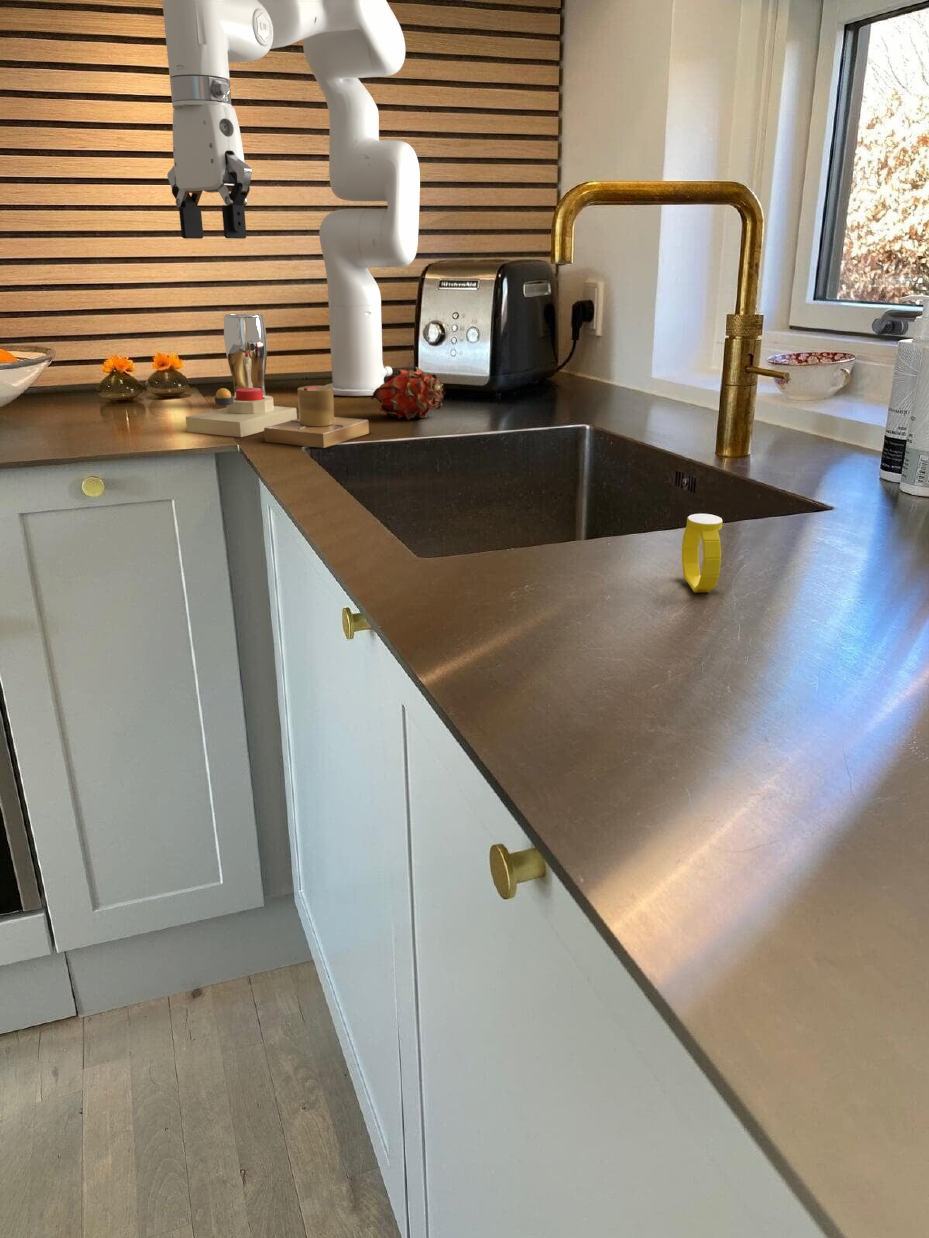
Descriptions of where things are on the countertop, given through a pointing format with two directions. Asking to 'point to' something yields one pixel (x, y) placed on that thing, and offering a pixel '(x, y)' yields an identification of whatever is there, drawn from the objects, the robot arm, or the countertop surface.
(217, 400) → the lamp
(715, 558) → the watch
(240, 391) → the light button
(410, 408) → the dragon fruit
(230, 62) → the robot arm
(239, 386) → the beer glass
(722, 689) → the countertop surface
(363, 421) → the dimmer panel
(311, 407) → the dimmer knob
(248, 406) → the switch block
